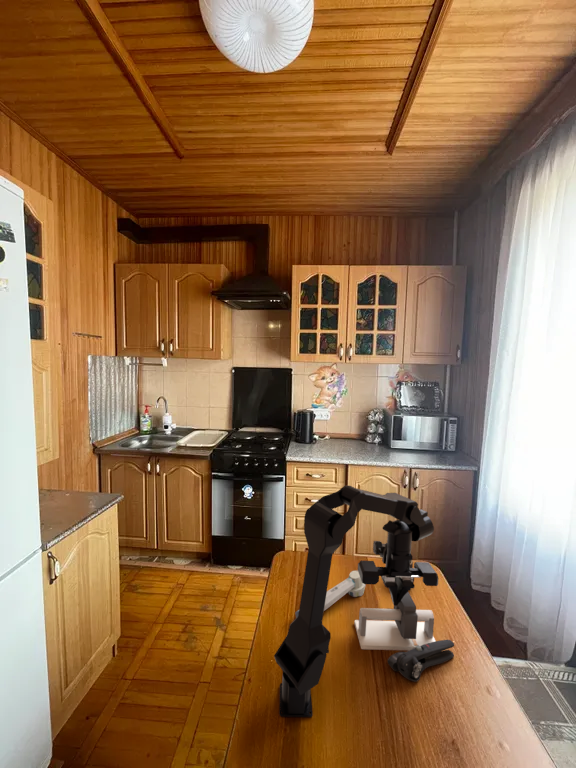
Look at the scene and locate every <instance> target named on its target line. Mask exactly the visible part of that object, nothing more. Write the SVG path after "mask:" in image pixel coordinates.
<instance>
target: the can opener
mask: <svg viewBox="0 0 576 768" xmlns="http://www.w3.org/2000/svg"><path fill="white" fill-rule="evenodd" d="M453 647H455V643H454V642H453V641H452V640H451V639H443V640H440V639H439V640H436V641H435V642H431V643H427V644H424V645H422V646H419V645H418V646H416V648H414V649H412V650H406V651H398V652H395V653H393V654H391V655H390V656H389V657H388V658H387V664H388V665H389V667H390V668H391V669H392V670H393V671H394V672H397V673H398V672H399V673H400V674H401V675H402V676H403V677H404V678H405V679H407V680H409V681H411V682H415V683H416V682H418V681H420V679H421V676H422V673H423V671H424V670H426V669H427V668H429V667H432V666H436V665H439V664H440V665H441V664H443V663H446V662H448V661H449V660H451V659H453V658H454V656H455V654H454V652H453V651H452V650H450V649H452V648H453Z"/></svg>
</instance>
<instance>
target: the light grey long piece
mask: <svg viewBox="0 0 576 768" xmlns="http://www.w3.org/2000/svg"><path fill="white" fill-rule="evenodd" d="M366 585H367V584H364V583H362V581H361V578H360V575H359V572H358V570H352V571H350V573H349V575H348V577H347V578H345V579H344V580H343V581H341V582H339V583H338V584H336V585H334V586H333V587H332V588H330V589H327V593H326V600H325V606H324V611H326V610H327V609H329V608H330V607H331V606H332V605H333V604H335V603H336V602H337V601H339V600H340V599H341V598H342V597H344V596H345V595H346V594H348V595H349V596H350V597H353V598H357V597H362V596H364V592H365V588H366ZM298 614H299V609H298V610H297V611H295V619H296V618H297V617H298Z"/></svg>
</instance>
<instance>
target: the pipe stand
mask: <svg viewBox="0 0 576 768" xmlns="http://www.w3.org/2000/svg"><path fill="white" fill-rule="evenodd" d="M358 613H359V615H358V617H359V618H358V619H355V620H354V627H355V630H356V634H357V639H358V642H359V646H360V649H361V650H375V651H376V650H379V651H381V650H384V651H409V650H412V649H414V648H416V646H418V645H419V646H422V645H424V644H427V643H431V642H435V641H437V640H436V638H435V637H434V625H435V617H434V613H433V610H432V609H416V613H417V615H418V619H417V632H416V639H404V638H403V637H402V636H401V634H400V632H399V629H398V627H397V624H396V622H395V620H401V615H402V613H401V611H400V609H394V608H377V607H376V608H371V607H360V608H359V612H358Z"/></svg>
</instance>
